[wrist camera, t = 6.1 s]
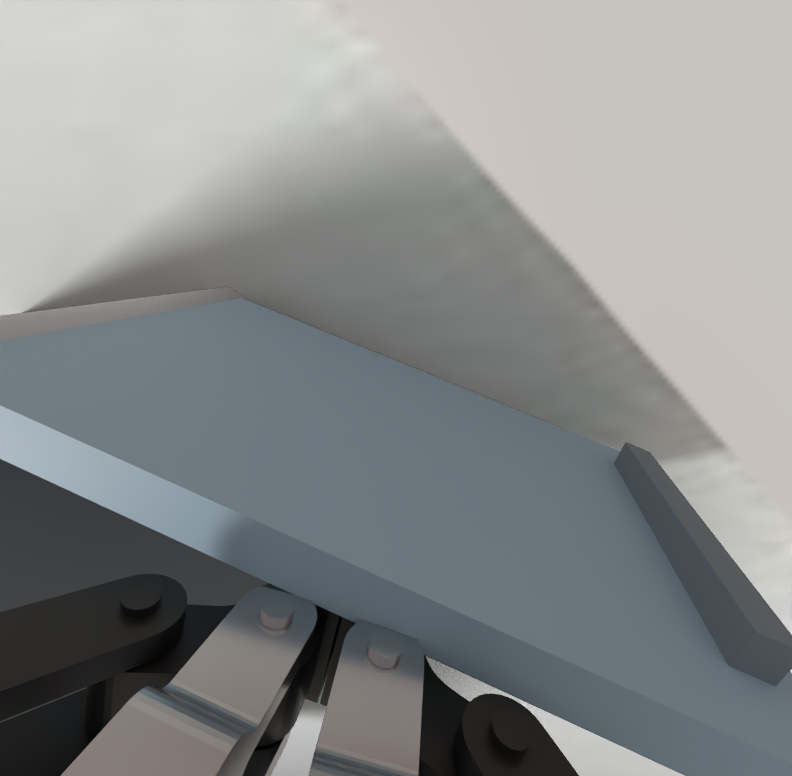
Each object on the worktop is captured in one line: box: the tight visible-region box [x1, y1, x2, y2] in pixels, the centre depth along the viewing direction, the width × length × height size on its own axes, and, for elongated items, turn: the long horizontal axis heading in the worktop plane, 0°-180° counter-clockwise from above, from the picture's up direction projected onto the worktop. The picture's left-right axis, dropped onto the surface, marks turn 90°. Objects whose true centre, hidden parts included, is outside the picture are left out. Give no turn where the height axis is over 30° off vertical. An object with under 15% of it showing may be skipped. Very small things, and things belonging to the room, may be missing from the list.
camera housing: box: [0, 459, 268, 723], centre depth 17 cm, size 23×10×13 cm, turn 7°
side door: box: [0, 287, 792, 776], centre depth 12 cm, size 17×2×11 cm, turn 70°
